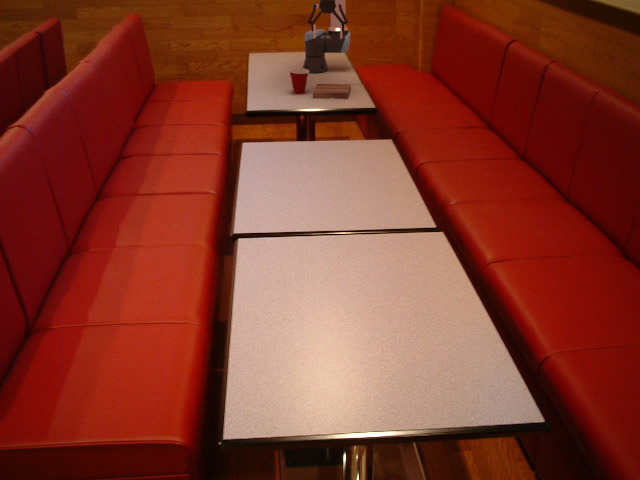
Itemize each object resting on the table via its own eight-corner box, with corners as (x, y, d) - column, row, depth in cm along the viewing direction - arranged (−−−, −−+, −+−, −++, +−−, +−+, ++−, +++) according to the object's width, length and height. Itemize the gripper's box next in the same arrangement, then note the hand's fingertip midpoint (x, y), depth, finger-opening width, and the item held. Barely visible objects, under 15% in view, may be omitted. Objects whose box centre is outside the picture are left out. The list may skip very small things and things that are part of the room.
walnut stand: (317, 89, 343) (317, 83, 342) (350, 89, 341) (350, 84, 340) (313, 98, 327) (312, 92, 326) (347, 98, 325) (347, 93, 324)
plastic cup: (309, 95, 333) (309, 72, 327) (289, 95, 333) (288, 72, 328) (310, 89, 343) (309, 67, 337) (290, 89, 343) (289, 67, 337)
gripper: (301, -6, 312) (302, 39, 322) (352, -6, 309) (351, 39, 319) (303, -8, 318) (304, 36, 328) (353, -8, 316) (353, 36, 326)
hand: (328, 38), depth 324 cm, fingers open, 13 cm apart
